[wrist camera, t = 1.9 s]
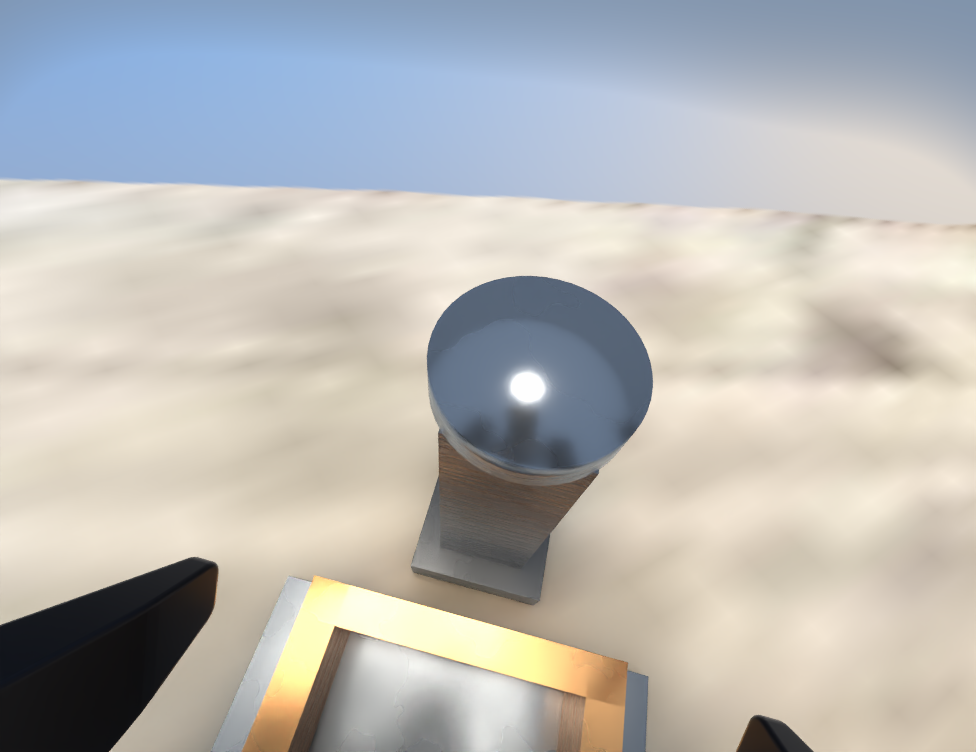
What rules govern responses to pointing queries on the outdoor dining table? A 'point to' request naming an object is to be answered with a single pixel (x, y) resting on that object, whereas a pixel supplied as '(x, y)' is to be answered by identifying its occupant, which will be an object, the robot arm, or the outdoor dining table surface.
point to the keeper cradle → (422, 683)
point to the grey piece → (523, 424)
